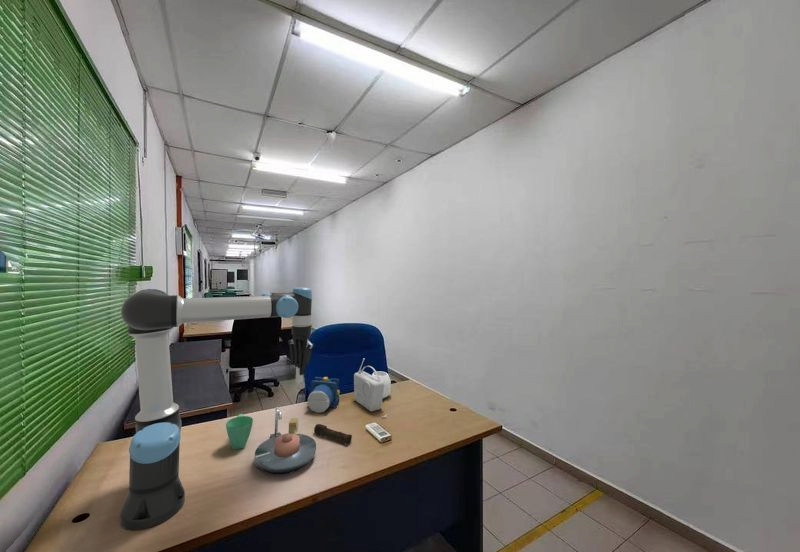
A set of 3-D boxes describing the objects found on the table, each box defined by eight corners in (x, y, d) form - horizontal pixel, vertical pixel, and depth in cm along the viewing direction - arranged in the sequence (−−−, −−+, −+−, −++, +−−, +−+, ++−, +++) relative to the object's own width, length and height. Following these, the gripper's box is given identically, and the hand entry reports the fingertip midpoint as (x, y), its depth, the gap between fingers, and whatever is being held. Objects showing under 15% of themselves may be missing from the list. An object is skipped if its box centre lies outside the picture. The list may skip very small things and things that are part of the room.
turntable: (324, 458, 118) (325, 440, 117) (262, 480, 104) (263, 459, 104) (302, 431, 137) (303, 415, 137) (247, 446, 124) (248, 428, 124)
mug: (252, 449, 125) (253, 425, 125) (224, 455, 121) (225, 429, 121) (252, 432, 139) (252, 409, 138) (226, 436, 134) (227, 413, 134)
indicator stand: (270, 436, 135) (271, 405, 135) (279, 434, 138) (280, 404, 137) (274, 447, 127) (275, 414, 127) (284, 445, 130) (285, 412, 129)
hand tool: (352, 442, 134) (352, 431, 134) (346, 447, 130) (347, 435, 130) (318, 430, 143) (318, 420, 143) (312, 434, 139) (312, 424, 139)
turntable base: (282, 481, 108) (282, 475, 108) (249, 463, 117) (249, 458, 117) (320, 455, 123) (320, 450, 123) (288, 441, 132) (289, 437, 132)
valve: (314, 400, 174) (313, 374, 172) (340, 402, 172) (340, 377, 170) (304, 414, 161) (303, 386, 159) (332, 417, 159) (331, 389, 157)
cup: (365, 399, 178) (366, 376, 178) (371, 391, 191) (372, 369, 191) (388, 402, 176) (389, 378, 176) (392, 393, 189) (393, 371, 189)
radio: (350, 399, 177) (351, 355, 177) (362, 396, 182) (364, 354, 182) (370, 414, 160) (372, 366, 160) (384, 410, 165) (385, 363, 165)
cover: (302, 452, 118) (303, 437, 118) (277, 460, 112) (278, 444, 112) (295, 441, 125) (295, 427, 125) (271, 448, 120) (271, 433, 120)
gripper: (319, 325, 129) (317, 382, 129) (297, 322, 135) (295, 376, 136) (305, 328, 122) (303, 388, 123) (283, 324, 129) (281, 381, 129)
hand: (299, 382), depth 129 cm, fingers closed
